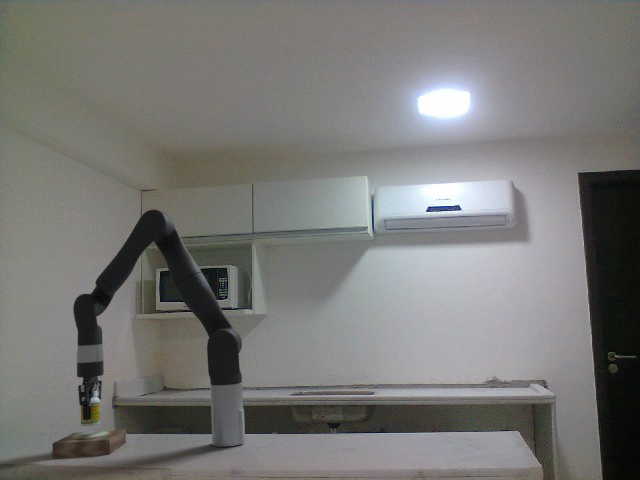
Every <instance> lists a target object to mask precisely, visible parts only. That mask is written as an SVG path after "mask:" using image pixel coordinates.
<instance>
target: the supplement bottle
mask: <svg viewBox="0 0 640 480" xmlns="http://www.w3.org/2000/svg"><path fill="white" fill-rule="evenodd" d="M85 401H86V400H85ZM100 423H101V400H100V399H99V398H97V391H95V393H94V398H93V399H92V404H91V419H90V420H83V407H82V405H80V426H81V427H92V426H98V425H100Z"/></svg>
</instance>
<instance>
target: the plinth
mask: <svg viewBox="0 0 640 480" xmlns="http://www.w3.org/2000/svg"><path fill="white" fill-rule="evenodd" d="M126 437H127V431H126V429H115V430H97V431H96V430H95V431H81V432H72V433H71V434H68V435H67V436H65V437H63V438H61V439H58V440H57V441H54V442H53V443H52V449H51V450H52V459H55V458H56V459H57V457H61V458H75V457H89V456H91V457H92V456H105V455H106V456H107V455H111V454H112V453H113V452H115V451H116V450H118V449H120V448H121V447H122V446H124V445H125V444H126V443H127V441H126V440H127V438H126ZM123 444H124V445H123Z"/></svg>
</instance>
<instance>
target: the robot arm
mask: <svg viewBox="0 0 640 480" xmlns="http://www.w3.org/2000/svg"><path fill="white" fill-rule="evenodd" d="M152 243H154V244H155V246H156V247H157V248H158V250H159V252H161V254H162V256H163V258H164V260H165V262H166V266H167V270H168V273H169V277H170V280H171V282H172V285H173V287H174V289H175V290H176V292H177V294H178V295H179V297H180V298H181V300H182V302H183V303H184V304H185V306H186V307H187V308H188V309H189V310H190V311H191V313H192V314H193V315H194V316H195V317H196V318H197V319H198V320H199V322H200V323H201V325H202V326H203V329H205V332H206V334H207V336H208V340H207V342H206V344H207V345H206V352H207V353H206V354H207V355H206V356H207V358H206V359H207V370H208V371H207V373H208V376H209V380H210V412H211V441H212V446H214V447H233V446H234V447H235V446H238V445H244V443H245V442H246V432H245V431H246V430H245V429H246V428H245V427H246V426H245V409H244V405H243V404H244V402H243V401H244V399H243V375H242V372H241V369H240V368H241V367H240V353H241V350H242V348H243V342H242V341H243V340H242V338H241V336H240V334H239V333H238V331H237V329H236V328H235V327H234V325H233V324H232V323H231V322H230V321H229V318H228V317H227V316H226V315H225V313H224V311H223V310H222V308H221V305H220V304H219V302H218V300H217V297H216V296H215V293H214V292H213V290H212V288H211V286H210V284H209V282H208V280H207V279H206V277H205V274H204V273H203V271H202V270H201V269H200V267H199V265H198V264H197V262H196V260H195V259H194V257H193V256H192V254H191V253H190V252H189V250H188V248H187V247H186V245H185V244H184V242H183V239H182V238H181V235H180V233H179V230H178V229H177V226H176V224H175V222H174V220H173V218H172V217H171V215H169V214H168V213H166V212H164V211H162V210H159V209H149V210H147V211H145V212H143V213H142V215H141V216H140V217H139V219H138V221H137V222H136V224H135V226H134V227H133V229H132V231H131V233H130V234H129V236H128V237H127V239H126V241H124V243H123V245H122V247H121V248H120V249H119V251H118V252H117V254H115V256H114V257H113V259H112V260H111V261H110V262H109V264H107V266H106V267H105V268H104V269H103V271H102V272H101V273H100V274H99V275H98V276H97V277H96V280H95V282H94V283H95V287H94V289H93V290H92V292H90V293H81V294H79V295H78V296H77V297H76V298H75V300H74V301H73V302H74V303H73V307H72V309H73V311H72V312H73V317H74V322H75V326H76V329H77V351H76V376H77V378H82V383H81V384H79V385H78V387H77V391H78V403H79V406H81V405H82V407H83V420H90V419H91V404H92V399H93V398H94V393H95V391H97V398H99V399H100V401H101V400H102V383H103V381H102V380H99V377H101V376H103V375H104V365H105V363H104V348H103V327H102V326H100V325H99V324H98V318H97V317H99V316H102V314H103V313H104V312H105V311H106V310H107V309H108V307H109V306H110V304H111V302H112V301H113V299H114V297H115V294H116V293H117V292H118V291H119V290H120V288H121V287H122V286H123V285H124V284H125V282H126V281H127V280H128V278H129V277H130V276H131V274H132V272H133V271H134V269H135V266H136V264H137V262H138V260H139V258H140V257H141V255H142V254H143V253H144V251H145V250H146V249H147V248H148V247H149V246H150V245H151V244H152ZM85 400H86V401H85Z"/></svg>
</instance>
